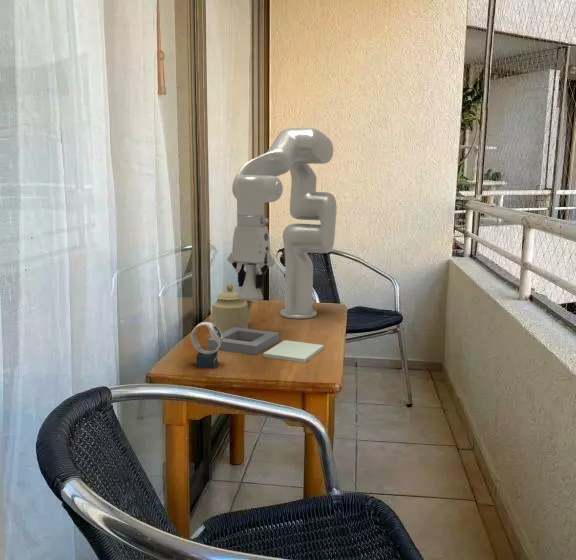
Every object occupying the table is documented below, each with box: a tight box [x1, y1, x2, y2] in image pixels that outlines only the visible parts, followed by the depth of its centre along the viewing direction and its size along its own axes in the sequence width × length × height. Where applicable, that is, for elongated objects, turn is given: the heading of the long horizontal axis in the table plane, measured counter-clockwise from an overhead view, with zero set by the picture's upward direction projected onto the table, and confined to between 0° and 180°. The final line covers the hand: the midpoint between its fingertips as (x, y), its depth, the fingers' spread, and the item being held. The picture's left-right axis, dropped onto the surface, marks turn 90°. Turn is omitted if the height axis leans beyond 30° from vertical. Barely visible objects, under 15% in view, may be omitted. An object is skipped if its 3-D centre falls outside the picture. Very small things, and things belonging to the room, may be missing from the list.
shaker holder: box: [207, 327, 280, 356], centre depth 169 cm, size 15×15×2 cm
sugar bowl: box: [211, 282, 253, 333], centre depth 185 cm, size 15×11×15 cm
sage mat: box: [262, 339, 325, 364], centre depth 162 cm, size 14×12×1 cm
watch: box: [190, 321, 223, 369], centre depth 150 cm, size 6×8×11 cm
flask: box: [239, 263, 264, 302], centre depth 165 cm, size 7×7×10 cm
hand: (250, 286), depth 165 cm, fingers closed on flask, 4 cm apart
